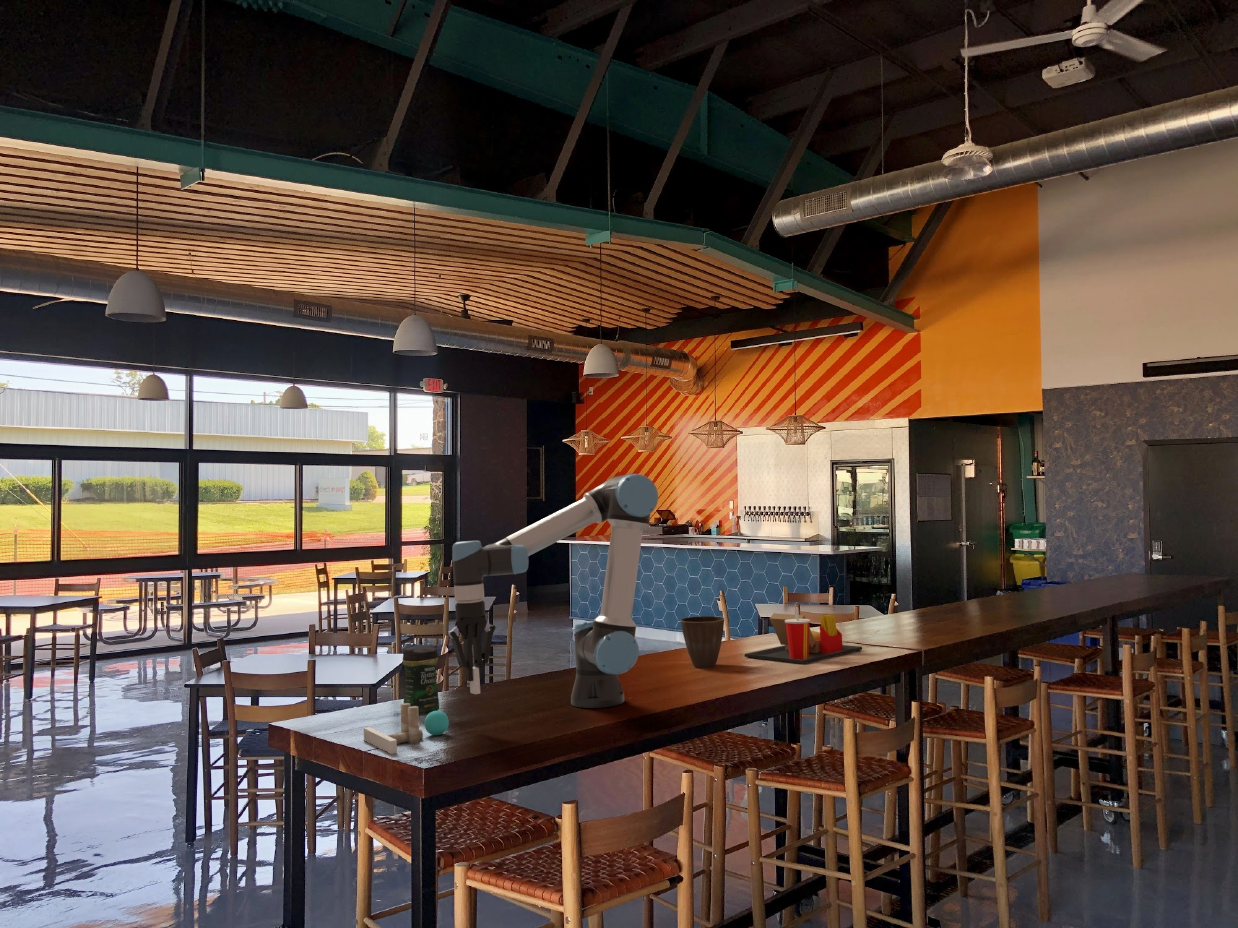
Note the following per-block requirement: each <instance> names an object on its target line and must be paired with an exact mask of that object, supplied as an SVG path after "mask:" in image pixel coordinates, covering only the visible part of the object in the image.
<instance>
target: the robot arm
mask: <svg viewBox="0 0 1238 928" xmlns="http://www.w3.org/2000/svg"><path fill="white" fill-rule="evenodd" d="M658 502H659V493H658V488H657V486H656V485H655V483H654V482H653V481H652V480H651V479H650V478H649V477H647V476H645V475H643V474H640V473H627V474H624V475H617V476H613V477H611V478H609V479H607V480H605V481H604V482H603V483H601V484H600V485H598V486H595V487H594V488H593V489H591V490H589V491H587V492H585V493H584V494H583V496H582V498H581V499H579V500H578V501H576V502H573V503H571V504H569V505H568V506H566V507H563V508H562V509H559V510H558V511H555V512H553V513H552V514H549V515H548V516H546V517H544V518H542V519H540V520H538V521H536V522H534V523H532V524H530V525H528V526H526V527H523V528H522V529H520V530H518V531H516V532H514V533H512V534H510V535H508V536H506V537H505V538H503V539H501V540H500V539H499V541H497V542H494V543H489V544H488V545H485V546H482V542H481V541H480V540H467V541H466V540H465V541H456V542H455V543H453V545H452V547H451V548H452V559H451V560H452V572H453V584H454V585H453V587H454V588H453V589H454V600H455V601H456V603H455V604H454V606H455V607H454V609H455V618H456V619H455V620H456V621H455V623H454V627H453V628H452V629H451V630H447V631H446V635H447V636H448V637H449V639H450V640H451V644H452V647H453V650H454V654H455V658H456V661H457V664H458V666H459V667H461V668H465V675H466V680H467V682H469V690H470V694H473V695H479V694H481V684H480V683H481V681H480V680H482V679H483V668H484V666H485V665H486V664H488V663H489V661H490V655H491V654H490V653H491V647H492V640H493V634H494V633H495V630H496V625H493V624H490V623H489V622H488V620H487V618H486V603H485V601H484V600H483V599H485V588H484V587H485V586H484V577H490V576H491V577H492V576H503V575H506V576H507V575H517V574H523V573H526V572H527V571H528V569H529V563H530V562H529V561H530V560H529V557H530V556H531V555H534V554H535V553H537V552H539V551H541V550H543V549H546V548H547V547H549V546H551V545H553V544H555V543H557V542H559V541H561V540H563V539H564V538H567V537H569V536H570V535H572V534H575V533H577V532H579V531H581V530H582V529H584V528H586V527H589V526H590V525H592V524H595V523H596V524H599V525H600V524H601V523H604V522H605V521H607V522H608V523H609V525H610V526H611V530H610V536H609V537H610V538H609V539H610V540H609V546H608V554H607V562H606V568H605V569H606V570H605V576H604V583H603V591H602V599H601V600H602V601H601V607H600V614H599V615H598V616H596V617H595V618H594V619H593V621H585V622H578V623H576V624H575V626H574V632H573V637H574V652H575V653H574V655H575V673H576V674H575V680H574V684H573V688H572V692H571V694H570V704H571V705H572V706H573V707H577V708H582V707H583V708H584V709H599V708H600V709H601V708H610V707H615V706H619V705H622V704H624V703H625V693H624V690H623V686H622V684H621V681H620V679H619V676H618V675H621V674H622V675H623V674H625V673H627V672H628V671H629V670H631V669H632V668H633V667H634V666H635V664H636V663H637V661H638V658H639V655H640V654H639V653H640V649H639V644H638V642H637V640H636V638H635V637H636V631H637V624H636V623H635V621H634V620H633V618H632V616H633V610H634V609H633V608H634V603H635V602H634V601H635V593H636V585H637V578H638V570H639V563H640V554H641V546H642V540H643V532H644V530H646V529H647V528H649V526H650V519H651V514H652V513H653V512H654V511H655V509H656V508H657V505H658ZM483 632H484V633H483ZM482 633H483V637H482ZM459 634H460V635H461V637H462V643H463V646H462V644H461V640H460V637H459Z"/></svg>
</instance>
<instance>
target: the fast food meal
mask: <svg viewBox="0 0 1238 928" xmlns="http://www.w3.org/2000/svg"><path fill="white" fill-rule="evenodd" d="M819 617H820V625H819V631H816V630H811V628H810V623H811V619H808V618H806V616H805V615H803V614H800V613H799V607H797V606H796V607H795V614H791V613H777V612H773V613H772V615H771V616H770V617H769V620H770V623H771V626H772V628H773V629H774V631H775V634H776V636H777V638H778V641H779V644H780V646H775V647H771V648H766V649H761V650H757V651H752V652H747V653H746V652H745V653H744V657H745V658H749V659H755V660H756V659H757V660H764V661H765V660H766V661H774V662H780V663H781V662H783V663H791V664H792V663H793V664H799V665H800V664H801V665H804V664H811V663H813V662H814V663H815V662H819V661H822V660H823V661H824V660H825V659H831V658H835V657H839V656H843V655H847V654H852V653H856V652H860V651H862V650H863V646H858V645H850V644H849V645H848V644H843V634H842V632H841V631H840V630H839V629H838V628H837V624H836V618H835V617H836V616H835V614H826V615H822V616H819Z"/></svg>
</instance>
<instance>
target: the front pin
mask: <svg viewBox="0 0 1238 928" xmlns="http://www.w3.org/2000/svg"><path fill="white" fill-rule="evenodd" d="M423 734H424V733H423V730H422V729H420V728H419V741H421V740H423V738H424V735H423ZM386 735H387V734H386ZM387 736H389V737H391V738H393V739H395V740H397V745H399V744H400V745H401V744H404V743H409V732H404V733H401V732H399V733H393V734H388V735H387Z"/></svg>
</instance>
